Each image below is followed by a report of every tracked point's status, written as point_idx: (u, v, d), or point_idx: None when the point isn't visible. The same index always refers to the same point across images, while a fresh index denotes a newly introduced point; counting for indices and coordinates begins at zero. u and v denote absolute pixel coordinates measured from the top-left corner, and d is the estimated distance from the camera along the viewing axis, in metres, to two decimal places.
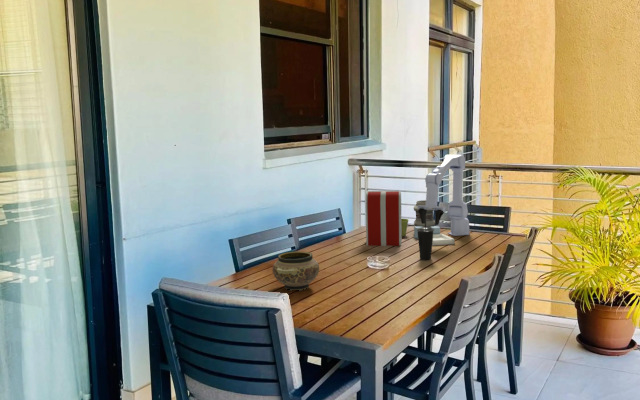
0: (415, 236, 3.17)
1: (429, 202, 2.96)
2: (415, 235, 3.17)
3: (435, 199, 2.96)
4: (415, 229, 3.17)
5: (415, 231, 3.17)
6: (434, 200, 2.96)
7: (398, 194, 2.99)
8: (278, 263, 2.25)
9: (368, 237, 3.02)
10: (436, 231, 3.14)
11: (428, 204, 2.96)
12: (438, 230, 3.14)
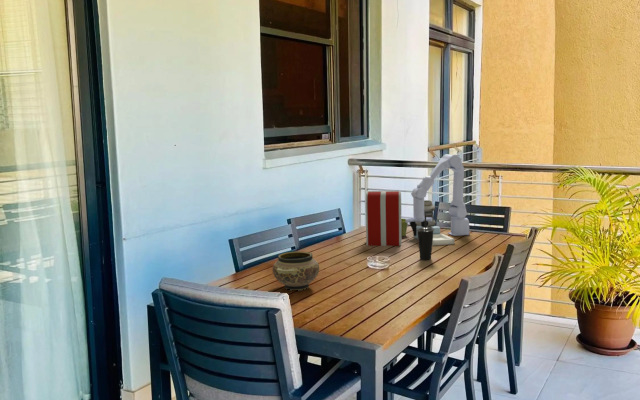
0: (415, 236, 3.17)
1: (421, 216, 3.14)
2: None
3: None
4: None
5: None
6: None
7: (398, 194, 2.99)
8: (278, 263, 2.25)
9: (368, 237, 3.02)
10: (436, 231, 3.14)
11: (420, 218, 3.14)
12: (438, 230, 3.14)
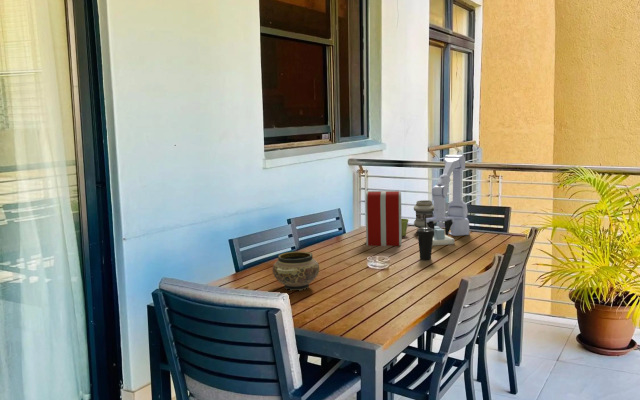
0: (435, 239, 3.03)
1: (442, 215, 2.99)
2: (435, 238, 3.03)
3: None
4: (435, 232, 3.02)
5: (435, 234, 3.03)
6: None
7: (398, 194, 2.99)
8: (278, 263, 2.25)
9: (368, 237, 3.02)
10: None
11: (441, 217, 2.99)
12: None
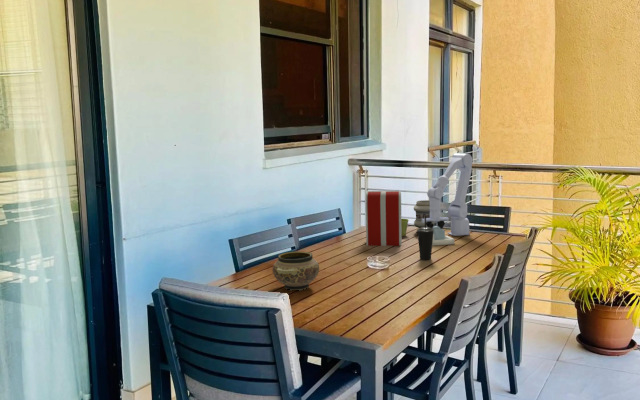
0: (435, 239, 3.03)
1: (437, 215, 3.12)
2: (435, 238, 3.03)
3: (440, 212, 3.14)
4: (435, 232, 3.02)
5: (435, 234, 3.03)
6: (440, 213, 3.14)
7: (398, 194, 2.99)
8: (278, 263, 2.25)
9: (368, 237, 3.02)
10: None
11: (437, 217, 3.12)
12: None
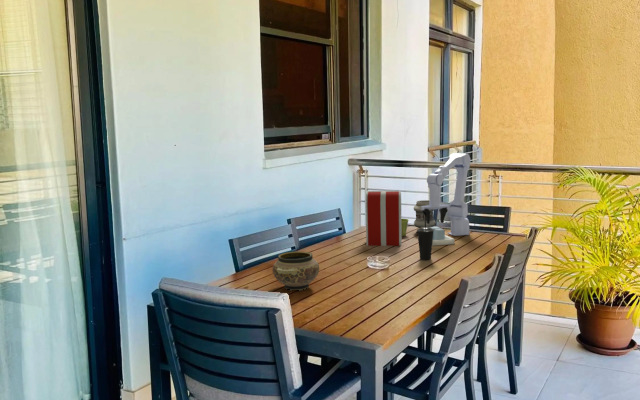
0: (435, 239, 3.03)
1: (437, 202, 3.04)
2: (435, 238, 3.03)
3: None
4: (435, 232, 3.02)
5: (435, 234, 3.03)
6: (440, 200, 3.05)
7: (398, 194, 2.99)
8: (278, 263, 2.25)
9: (368, 237, 3.02)
10: None
11: (436, 204, 3.04)
12: None
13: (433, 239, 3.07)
